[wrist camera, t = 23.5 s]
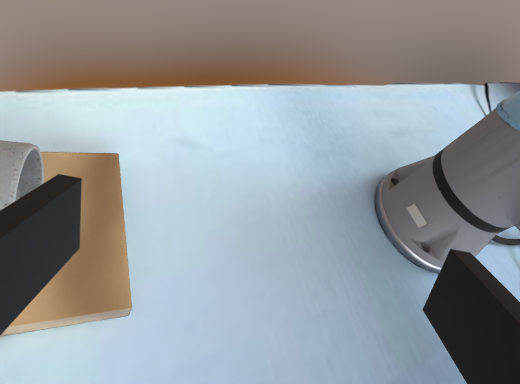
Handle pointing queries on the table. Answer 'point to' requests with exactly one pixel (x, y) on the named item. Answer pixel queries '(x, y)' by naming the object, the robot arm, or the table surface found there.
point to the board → (86, 250)
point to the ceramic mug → (19, 170)
